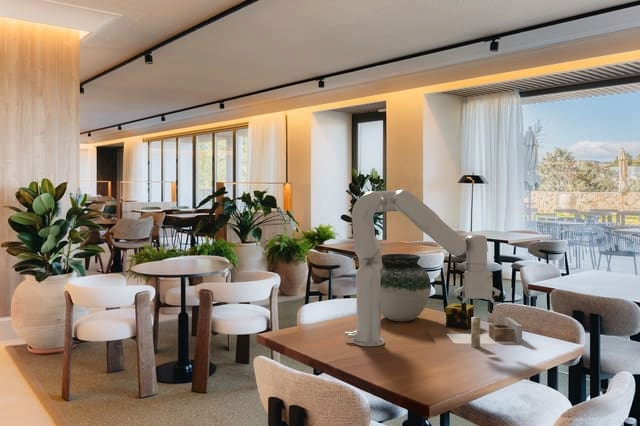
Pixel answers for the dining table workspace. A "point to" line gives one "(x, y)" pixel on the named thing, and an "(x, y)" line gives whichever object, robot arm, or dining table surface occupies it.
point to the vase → (403, 287)
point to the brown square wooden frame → (501, 332)
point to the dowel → (475, 332)
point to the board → (486, 339)
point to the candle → (459, 316)
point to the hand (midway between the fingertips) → (477, 312)
